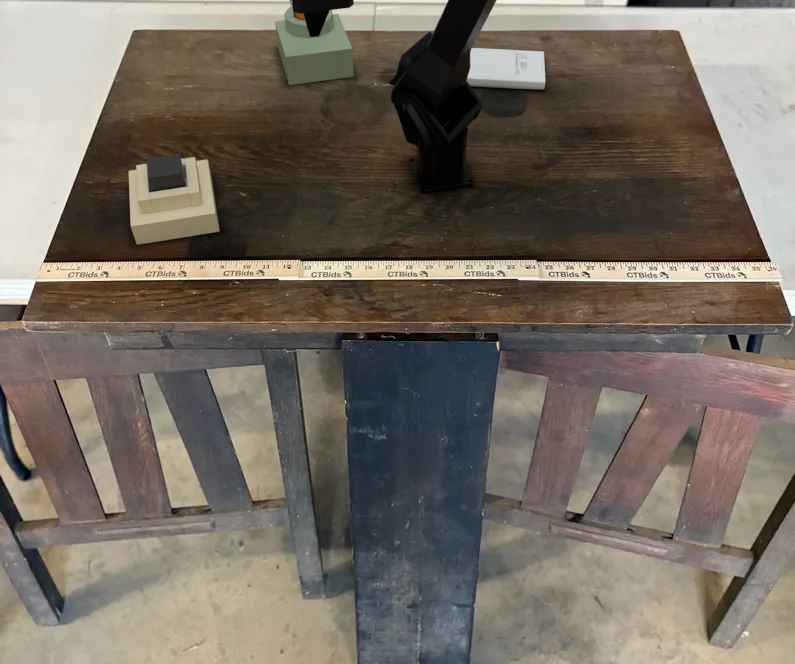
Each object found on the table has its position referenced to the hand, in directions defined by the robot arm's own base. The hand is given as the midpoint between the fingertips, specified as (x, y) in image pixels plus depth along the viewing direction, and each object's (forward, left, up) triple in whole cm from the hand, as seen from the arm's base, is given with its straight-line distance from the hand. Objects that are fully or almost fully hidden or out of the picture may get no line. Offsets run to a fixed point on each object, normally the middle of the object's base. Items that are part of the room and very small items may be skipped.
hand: (314, 35), depth 91 cm
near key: (-11, +19, -9) cm, 24 cm away
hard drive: (+8, -26, -13) cm, 30 cm away
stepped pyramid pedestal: (-11, +19, -13) cm, 25 cm away
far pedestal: (+17, -2, -13) cm, 22 cm away
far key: (+20, -2, -7) cm, 21 cm away
